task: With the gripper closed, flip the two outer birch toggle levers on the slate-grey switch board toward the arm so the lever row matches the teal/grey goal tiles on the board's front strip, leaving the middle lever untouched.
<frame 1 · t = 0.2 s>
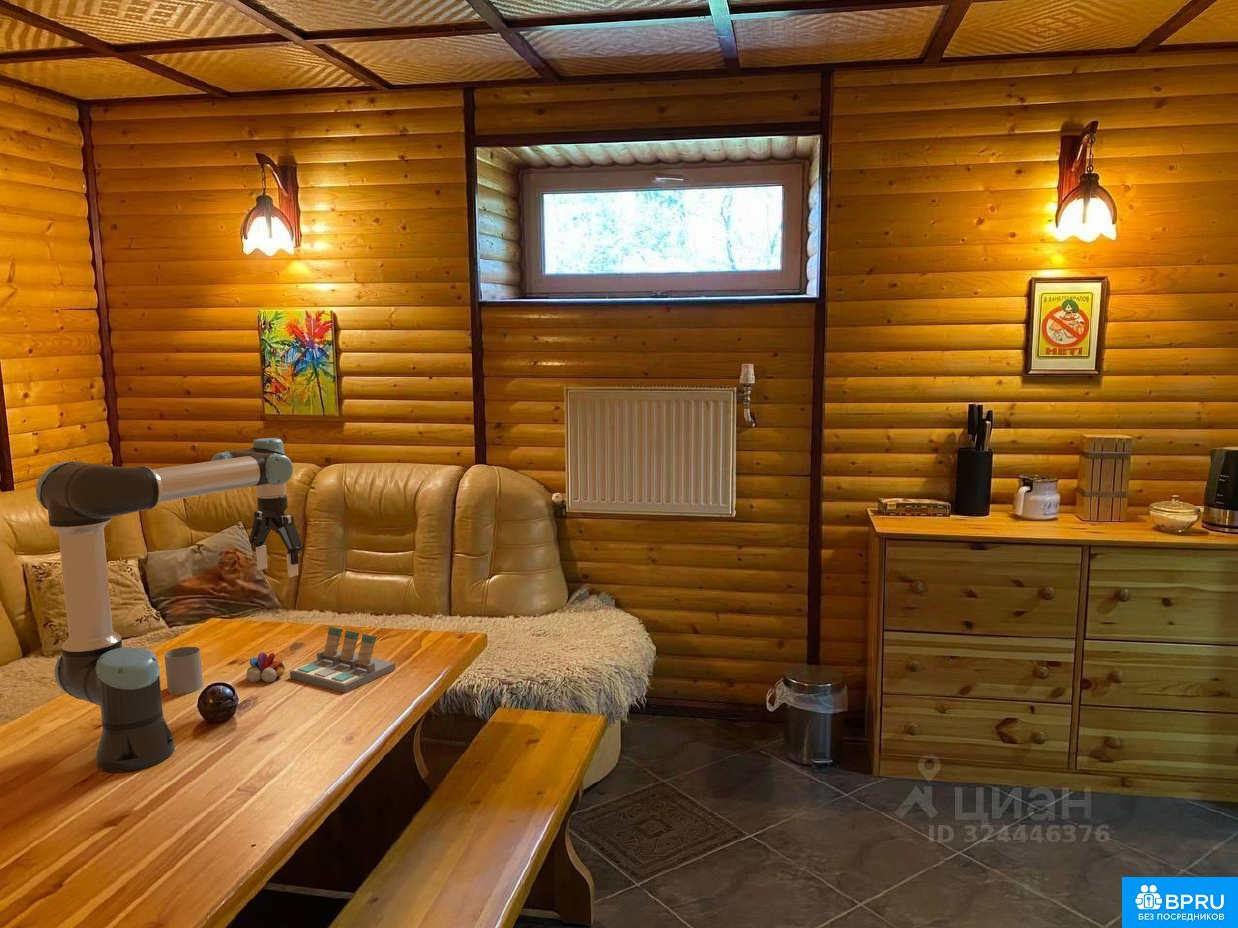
hand: (277, 572, 238), 28 cm above the table, fingers open, 13 cm apart
rainbow disc wheeled toy: (266, 678, 237), on the table
switch board: (343, 673, 239), on the table
cup: (185, 688, 231), on the table
lever a: (365, 651, 237), point 7 cm above the table, hinge at 22.1°
lever b: (348, 647, 240), point 7 cm above the table, hinge at 22.1°
lever c: (332, 643, 243), point 7 cm above the table, hinge at 22.1°
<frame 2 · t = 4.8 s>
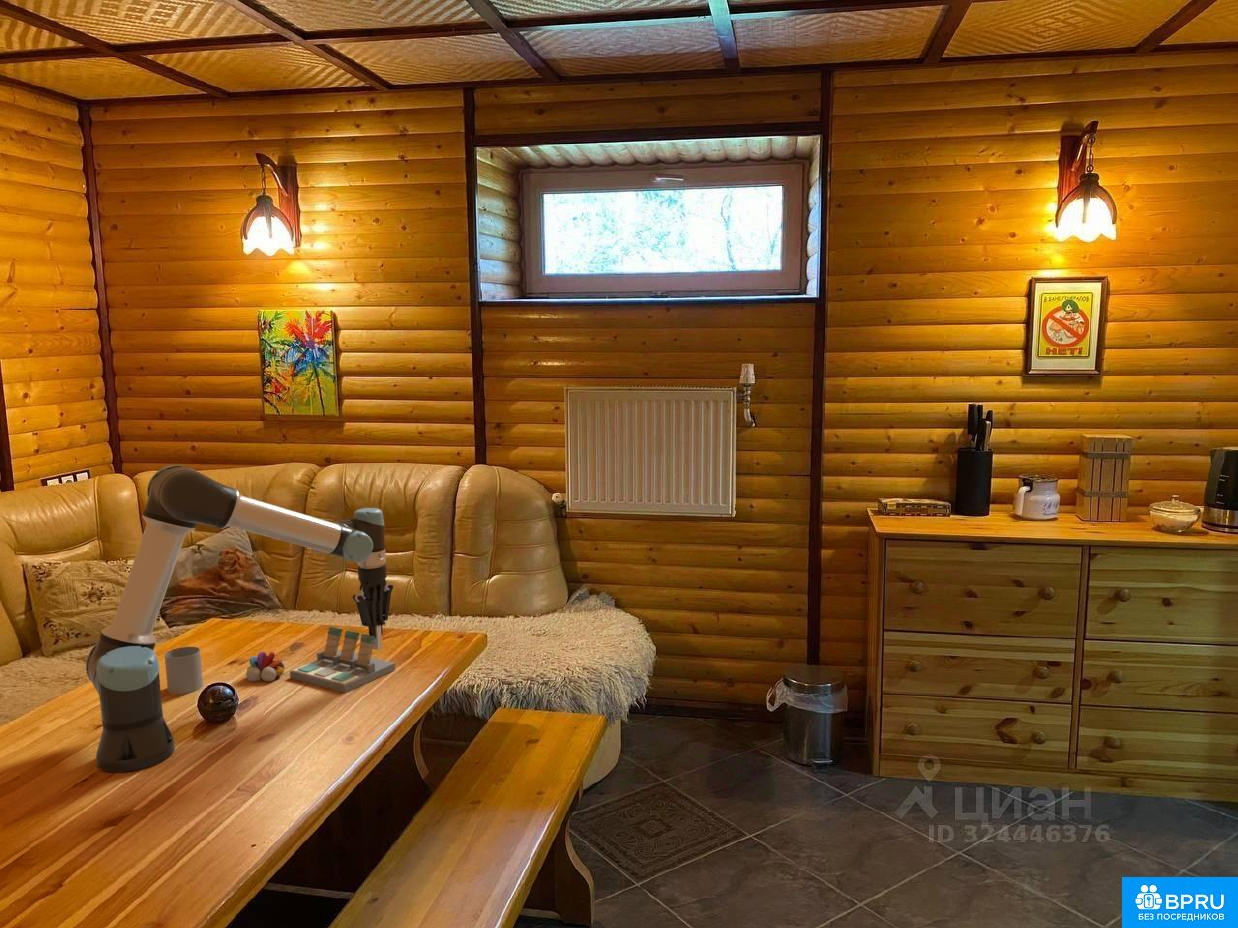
hand: (376, 648, 240), 6 cm above the table, fingers closed
lever a: (365, 651, 237), point 7 cm above the table, hinge at 18.8°, touching gripper
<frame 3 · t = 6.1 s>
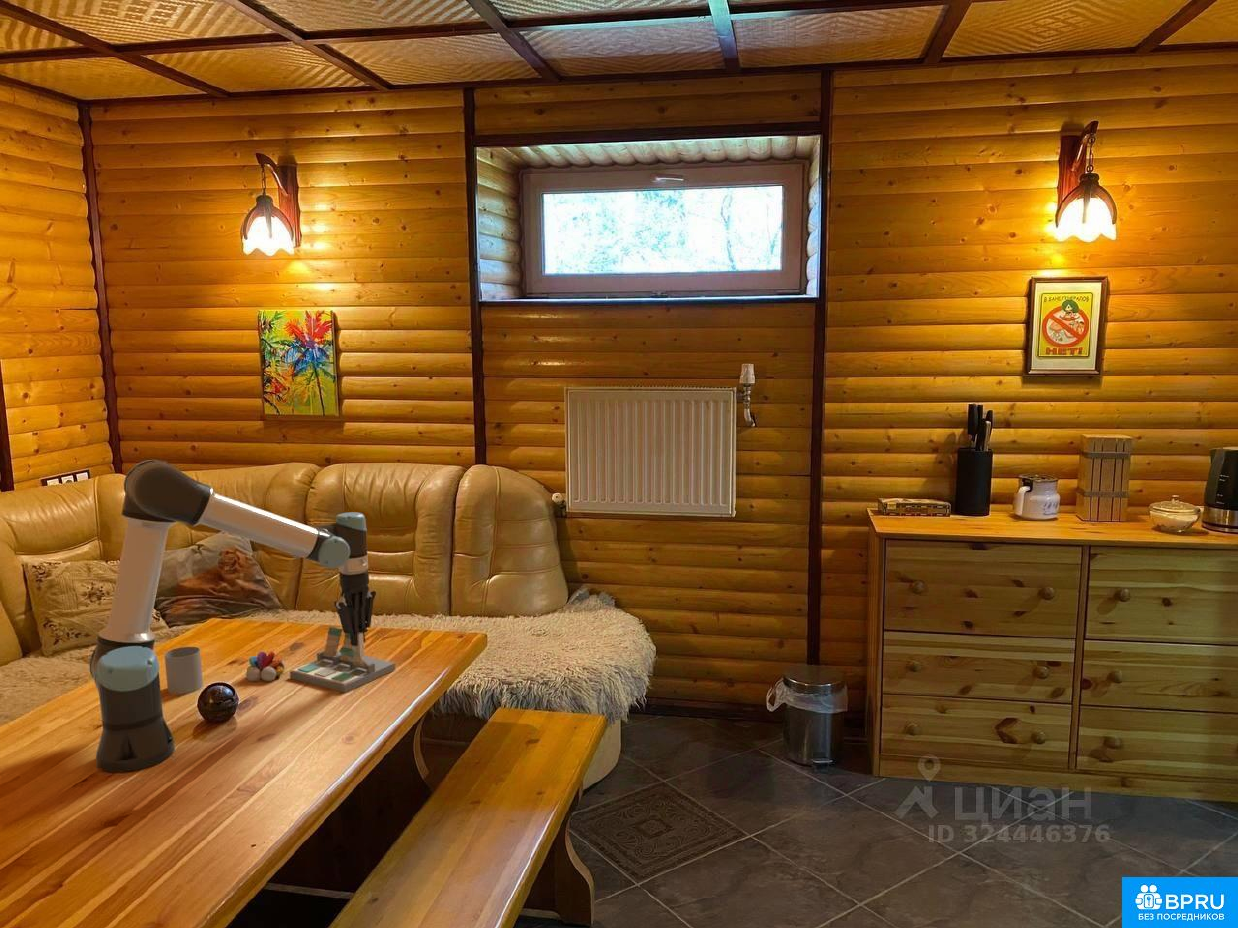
hand: (358, 655, 235), 6 cm above the table, fingers closed
lever a: (354, 658, 234), point 6 cm above the table, hinge at -40.5°, touching gripper
everything else where it was.
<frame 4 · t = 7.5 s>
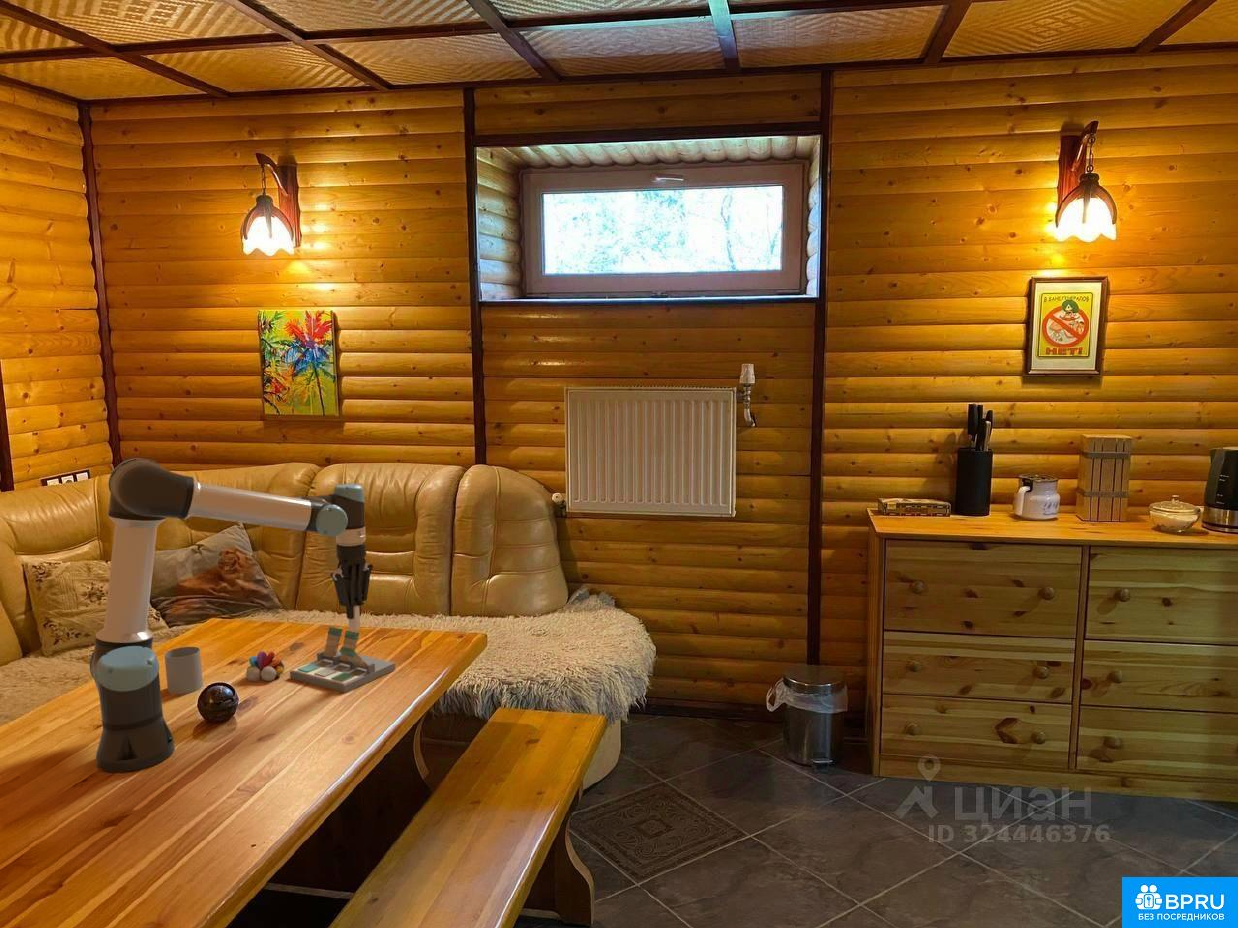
hand: (354, 629, 233), 14 cm above the table, fingers closed
lever a: (354, 658, 234), point 6 cm above the table, hinge at -40.2°
everything else where it was.
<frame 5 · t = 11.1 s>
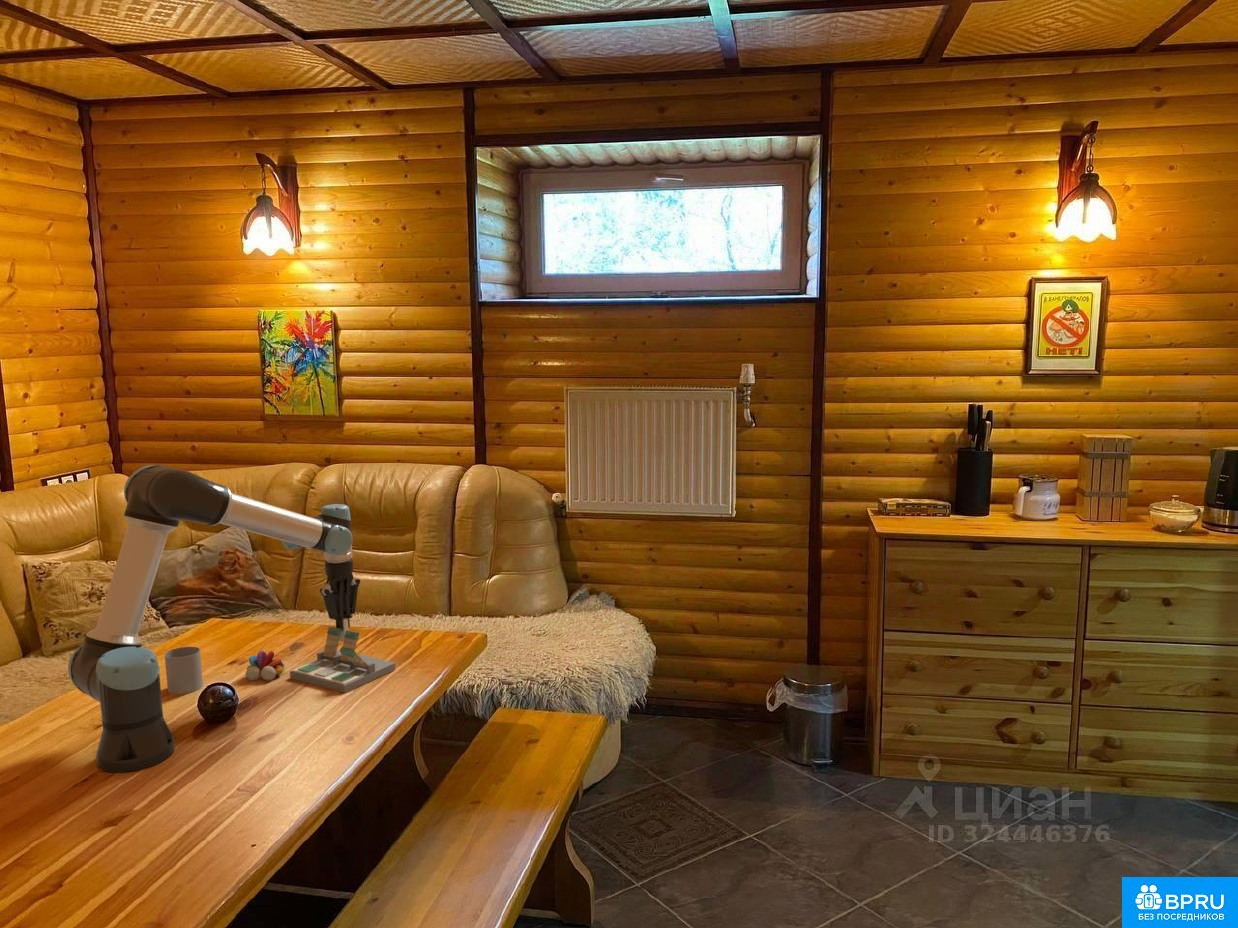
hand: (343, 640, 247), 6 cm above the table, fingers closed
lever c: (331, 643, 243), point 7 cm above the table, hinge at 19.9°, touching gripper
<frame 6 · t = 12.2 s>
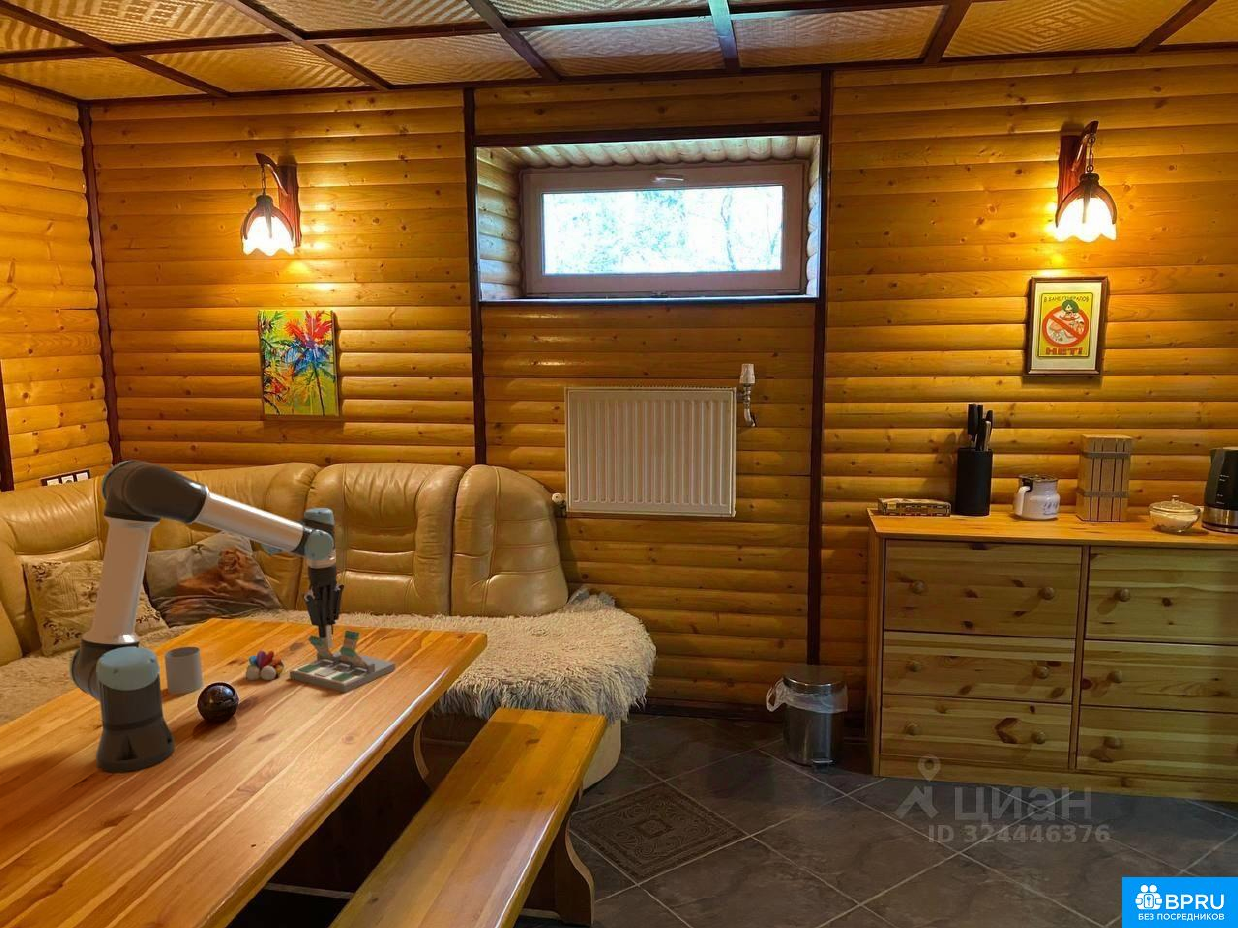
hand: (326, 647, 242), 6 cm above the table, fingers closed
lever c: (322, 648, 240), point 6 cm above the table, hinge at -32.4°
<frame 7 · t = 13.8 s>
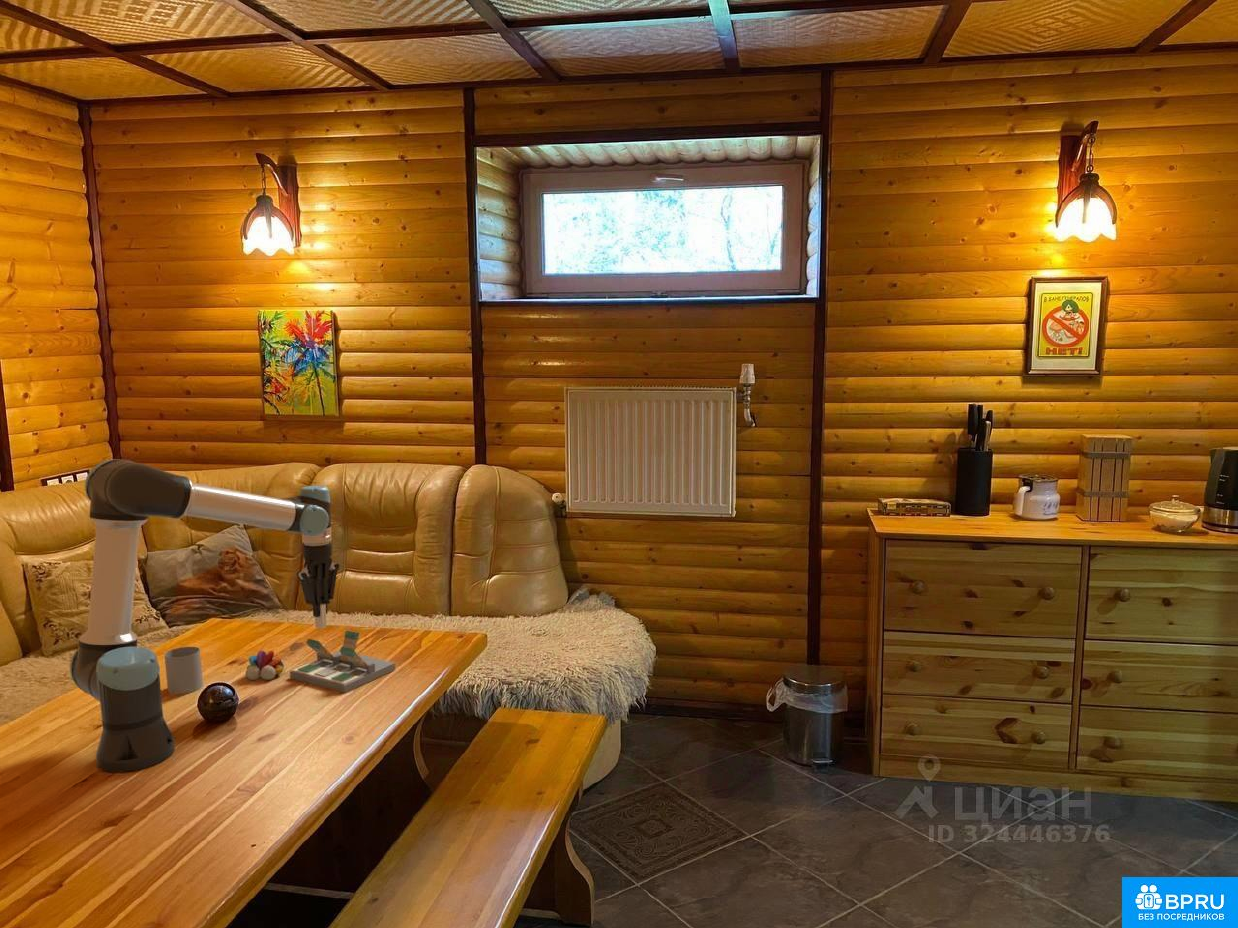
hand: (321, 626, 240), 13 cm above the table, fingers closed
lever c: (321, 650, 240), point 6 cm above the table, hinge at -40.2°
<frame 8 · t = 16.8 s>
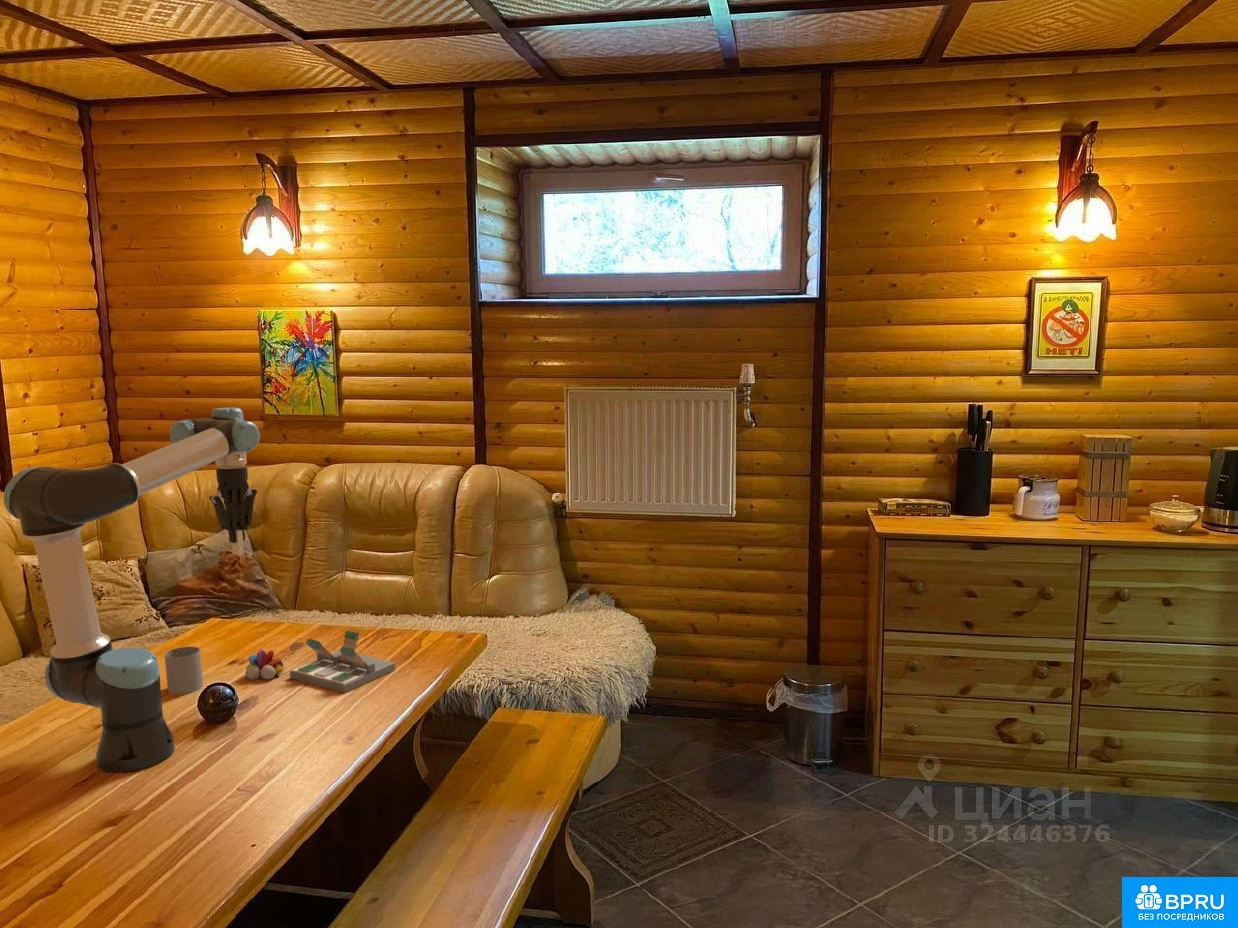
hand: (238, 553, 233), 34 cm above the table, fingers closed
at the end: lever a at -40° (first picture: +22°); lever c at -40° (first picture: +22°); lever b at +22° (first picture: +22°) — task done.
